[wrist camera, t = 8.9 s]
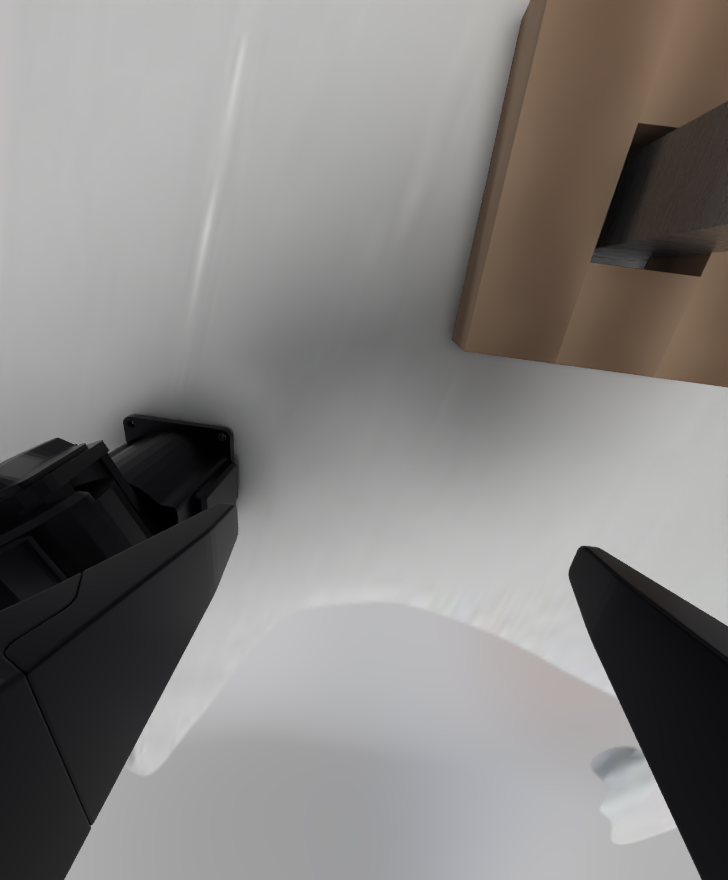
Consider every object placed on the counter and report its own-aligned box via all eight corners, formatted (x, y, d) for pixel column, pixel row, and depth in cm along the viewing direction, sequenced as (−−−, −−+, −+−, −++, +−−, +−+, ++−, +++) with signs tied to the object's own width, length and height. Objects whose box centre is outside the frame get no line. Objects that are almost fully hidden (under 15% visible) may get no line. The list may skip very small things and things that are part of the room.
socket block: (451, 339, 18) (464, 351, 15) (521, 18, 13) (562, -65, 10) (683, 371, 18) (746, 389, 15) (840, 57, 13) (983, -17, 10)
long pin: (568, 253, 16) (789, 213, 7) (592, 175, 15) (893, 9, 6) (633, 260, 16) (938, 229, 7) (662, 183, 15) (1075, 26, 6)
